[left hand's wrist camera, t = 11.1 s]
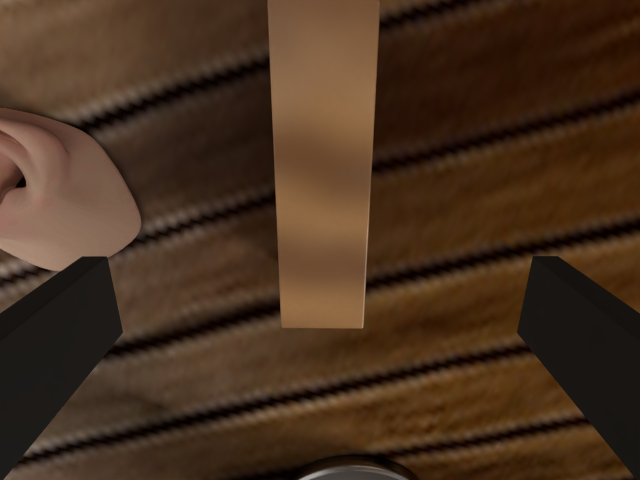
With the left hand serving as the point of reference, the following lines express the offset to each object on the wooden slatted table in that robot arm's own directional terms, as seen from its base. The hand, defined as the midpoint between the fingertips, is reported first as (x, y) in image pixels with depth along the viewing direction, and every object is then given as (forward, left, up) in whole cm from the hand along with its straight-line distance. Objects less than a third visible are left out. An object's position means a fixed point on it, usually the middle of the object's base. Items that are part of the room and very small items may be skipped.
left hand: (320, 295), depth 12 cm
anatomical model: (-18, +5, -15) cm, 24 cm away
